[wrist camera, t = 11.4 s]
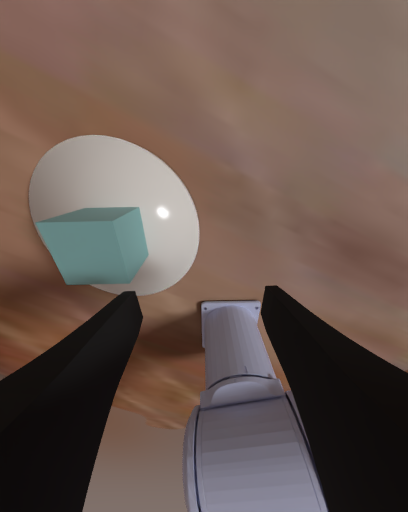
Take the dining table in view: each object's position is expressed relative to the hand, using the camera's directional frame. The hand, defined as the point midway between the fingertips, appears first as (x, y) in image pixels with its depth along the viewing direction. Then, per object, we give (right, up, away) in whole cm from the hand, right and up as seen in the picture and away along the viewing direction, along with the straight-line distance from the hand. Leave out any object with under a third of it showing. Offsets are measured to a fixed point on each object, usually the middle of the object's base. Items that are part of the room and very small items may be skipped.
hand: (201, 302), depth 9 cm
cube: (-8, +5, +7) cm, 12 cm away
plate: (-8, +5, +8) cm, 13 cm away
